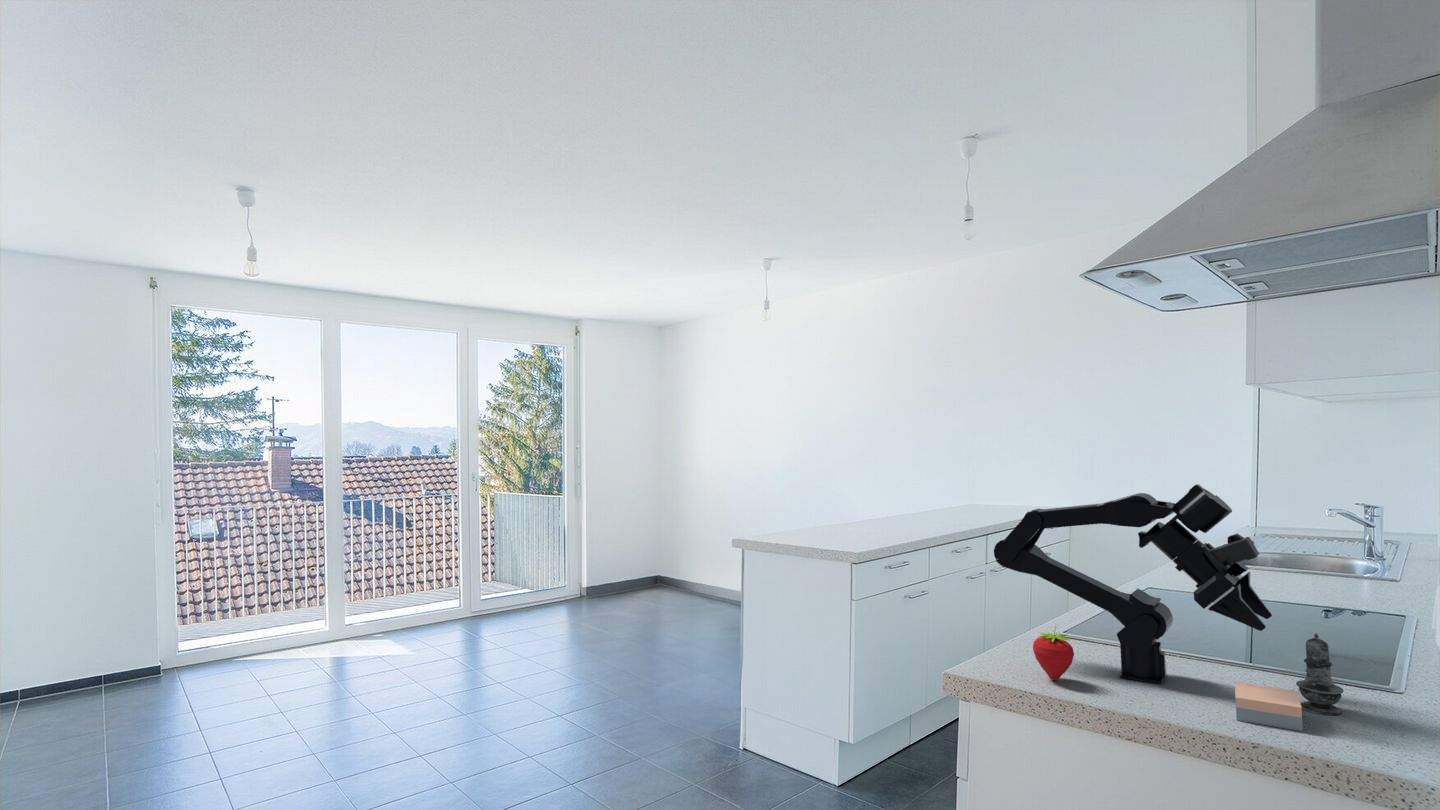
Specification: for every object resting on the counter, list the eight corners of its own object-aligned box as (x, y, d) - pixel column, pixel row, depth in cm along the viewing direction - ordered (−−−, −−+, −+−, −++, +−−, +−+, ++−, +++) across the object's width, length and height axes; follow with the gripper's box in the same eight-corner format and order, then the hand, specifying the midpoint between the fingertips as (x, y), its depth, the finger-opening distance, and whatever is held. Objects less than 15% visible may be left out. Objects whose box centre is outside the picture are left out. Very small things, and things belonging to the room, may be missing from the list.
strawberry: (1048, 671, 136) (1046, 618, 136) (1083, 683, 129) (1081, 627, 129) (1025, 676, 133) (1023, 622, 134) (1060, 689, 127) (1058, 632, 127)
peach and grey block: (1236, 720, 112) (1235, 697, 112) (1236, 703, 118) (1235, 682, 118) (1302, 731, 107) (1301, 707, 107) (1298, 713, 113) (1297, 691, 114)
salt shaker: (1322, 701, 118) (1318, 627, 118) (1355, 715, 112) (1350, 637, 113) (1287, 703, 118) (1283, 628, 118) (1318, 717, 112) (1314, 639, 112)
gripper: (1213, 526, 117) (1304, 604, 109) (1230, 514, 131) (1312, 583, 123) (1160, 569, 122) (1243, 647, 114) (1182, 554, 136) (1258, 622, 128)
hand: (1266, 623), depth 120 cm, fingers open, 9 cm apart
